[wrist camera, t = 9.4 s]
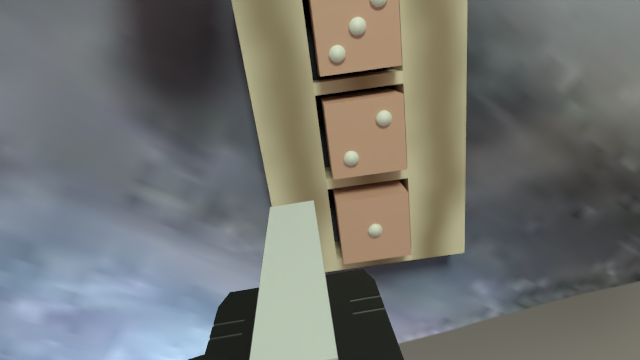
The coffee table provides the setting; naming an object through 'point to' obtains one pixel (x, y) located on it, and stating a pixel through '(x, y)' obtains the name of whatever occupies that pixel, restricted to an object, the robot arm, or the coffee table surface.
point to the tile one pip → (373, 221)
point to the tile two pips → (365, 132)
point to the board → (409, 78)
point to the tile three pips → (355, 35)
